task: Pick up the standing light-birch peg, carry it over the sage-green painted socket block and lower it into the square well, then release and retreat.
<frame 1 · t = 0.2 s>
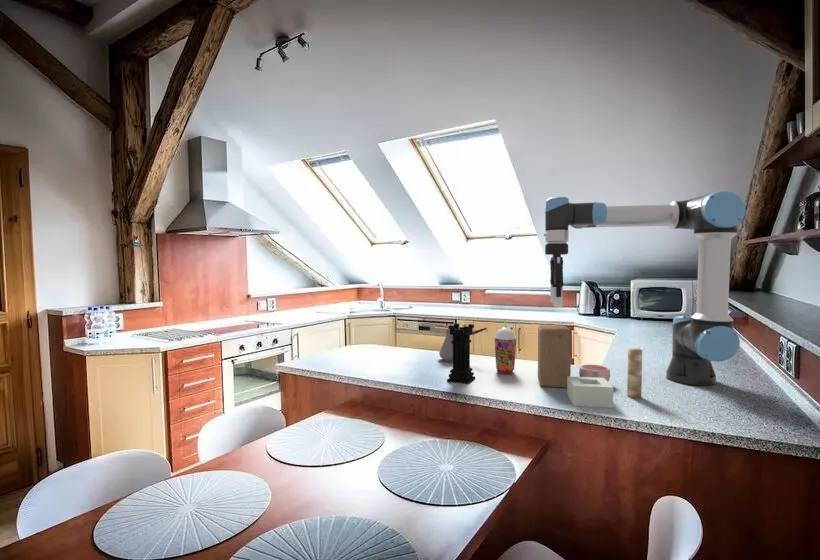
hand: (556, 305, 154), 28 cm above the table, fingers open, 13 cm apart
mug: (593, 384, 157), on the table
smoothie: (505, 372, 173), on the table
socket block: (589, 401, 137), on the table
birch peg: (634, 396, 141), on the table
chess piece: (461, 380, 162), on the table
coffee pot: (463, 361, 192), on the table
wooden block: (553, 384, 156), on the table
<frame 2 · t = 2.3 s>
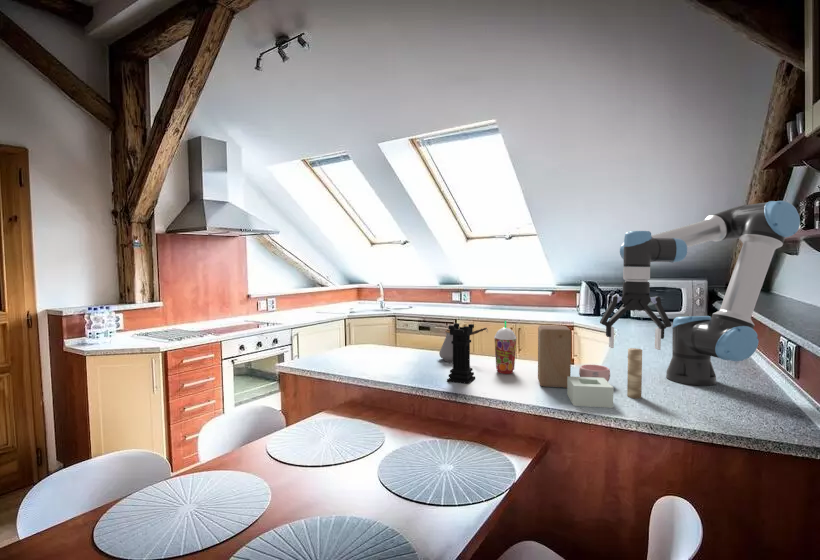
hand: (634, 348, 141), 15 cm above the table, fingers open, 13 cm apart
nothing on the table moved.
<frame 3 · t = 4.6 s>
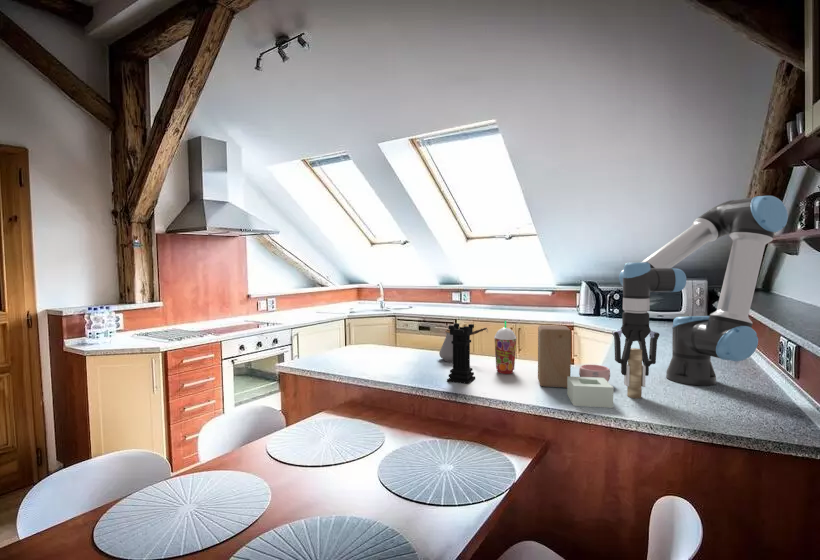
hand: (634, 385, 141), 4 cm above the table, fingers closed on birch peg, 4 cm apart
birch peg: (634, 396, 141), on the table, touching gripper
everything else where it was.
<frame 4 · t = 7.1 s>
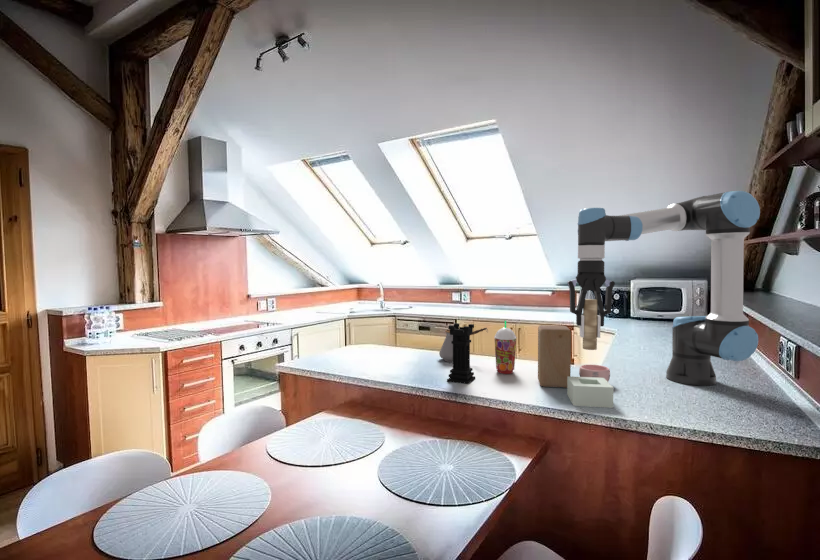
hand: (589, 336, 136), 20 cm above the table, fingers closed on birch peg, 4 cm apart
birch peg: (589, 348, 136), point 16 cm above the table, touching gripper
everything else where it was.
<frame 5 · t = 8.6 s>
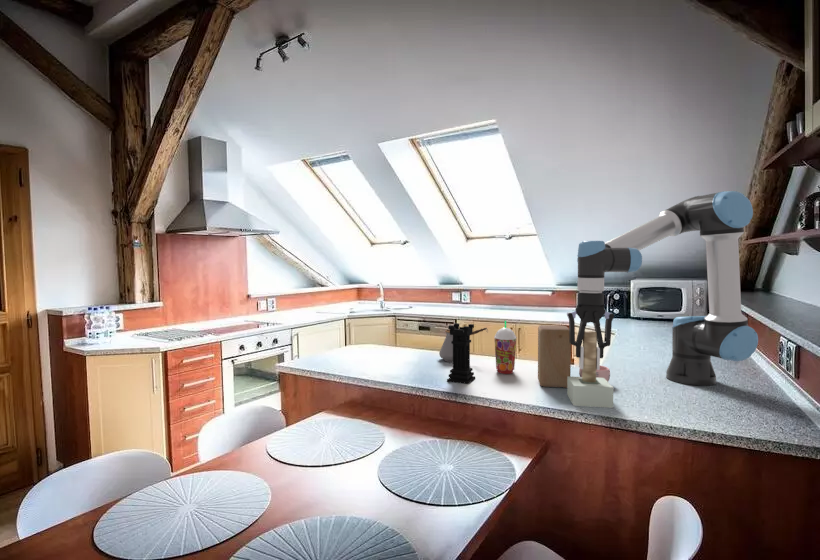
hand: (589, 368, 137), 10 cm above the table, fingers closed on birch peg, 4 cm apart
birch peg: (588, 380, 137), point 6 cm above the table, touching gripper
everything else where it was.
when the fingers open (7 cm above the table, at t = 9.9 s): birch peg drops 2 cm, resting on socket block.
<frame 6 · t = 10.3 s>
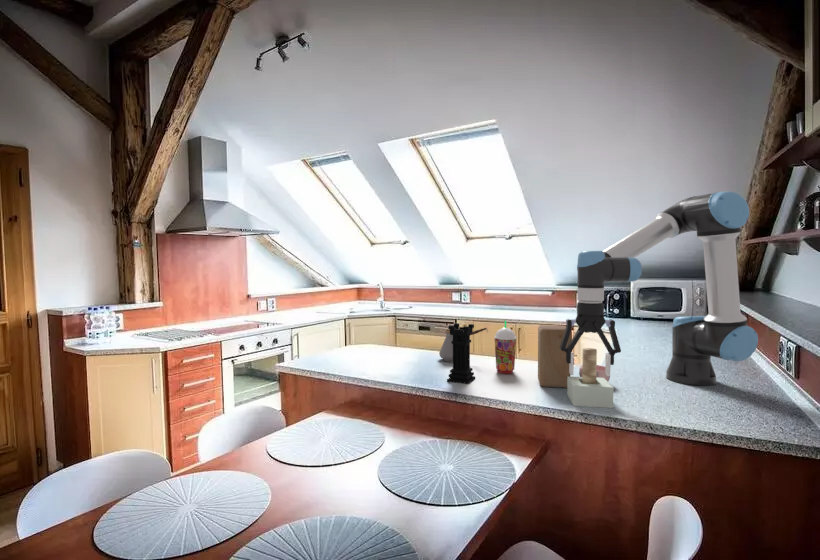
hand: (589, 374, 137), 8 cm above the table, fingers open, 10 cm apart
birch peg: (589, 397, 137), point 1 cm above the table, touching socket block
everything else where it was.
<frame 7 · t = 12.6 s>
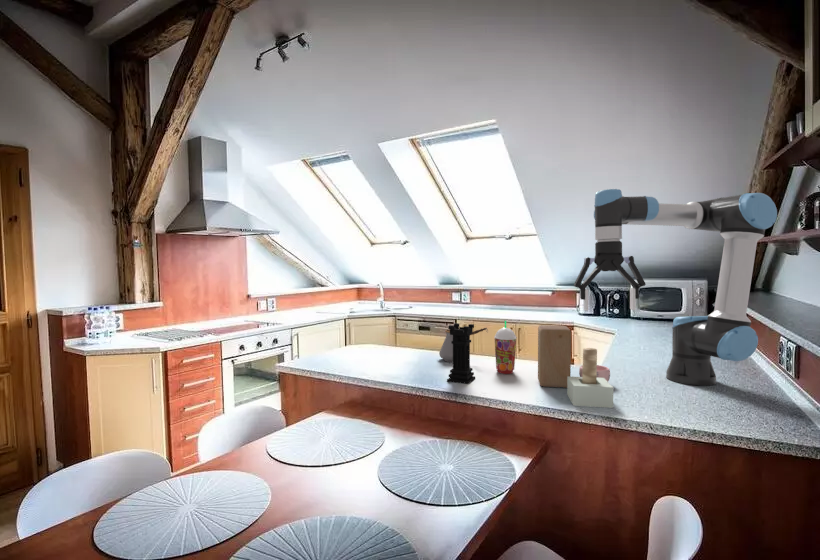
hand: (609, 310, 138), 28 cm above the table, fingers open, 13 cm apart
nothing on the table moved.
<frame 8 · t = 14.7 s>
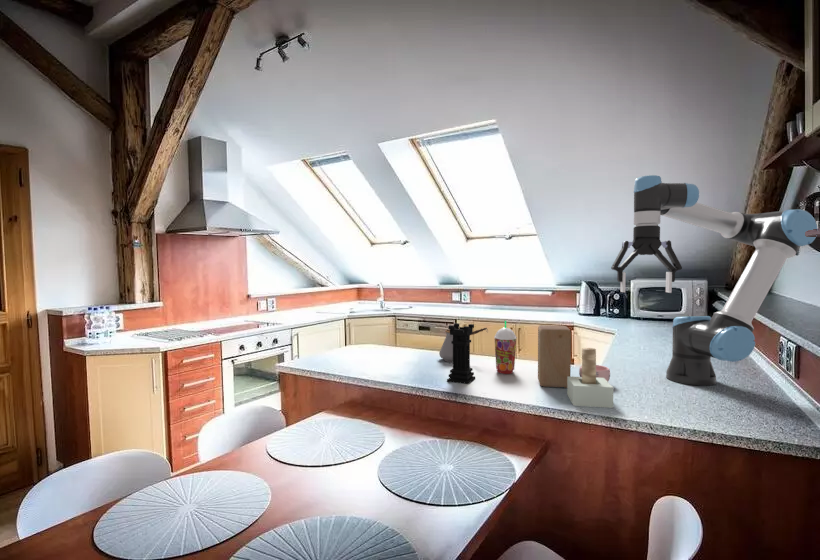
hand: (645, 292, 143), 33 cm above the table, fingers open, 13 cm apart
nothing on the table moved.
at the end: birch peg 0.0 cm off-centre on the socket block, point 1.0 cm above the socket block's base; birch peg tilted 1°; the gripper is holding nothing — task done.
